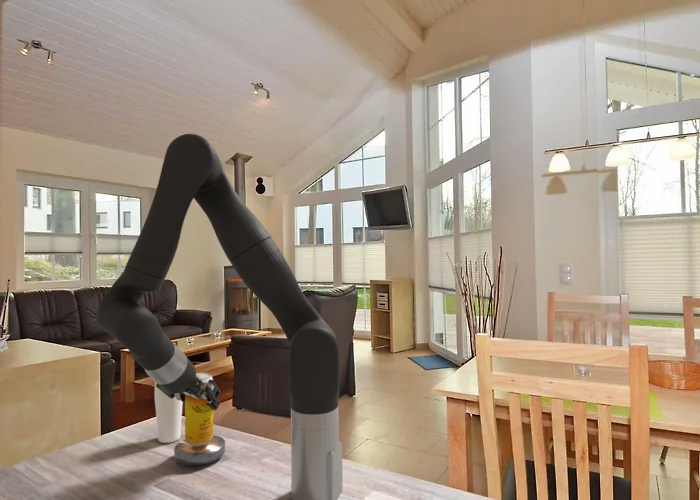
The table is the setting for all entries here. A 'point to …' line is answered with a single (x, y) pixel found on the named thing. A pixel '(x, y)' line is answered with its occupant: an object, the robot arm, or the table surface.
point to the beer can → (198, 417)
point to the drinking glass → (168, 417)
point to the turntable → (199, 452)
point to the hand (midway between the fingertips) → (204, 404)
